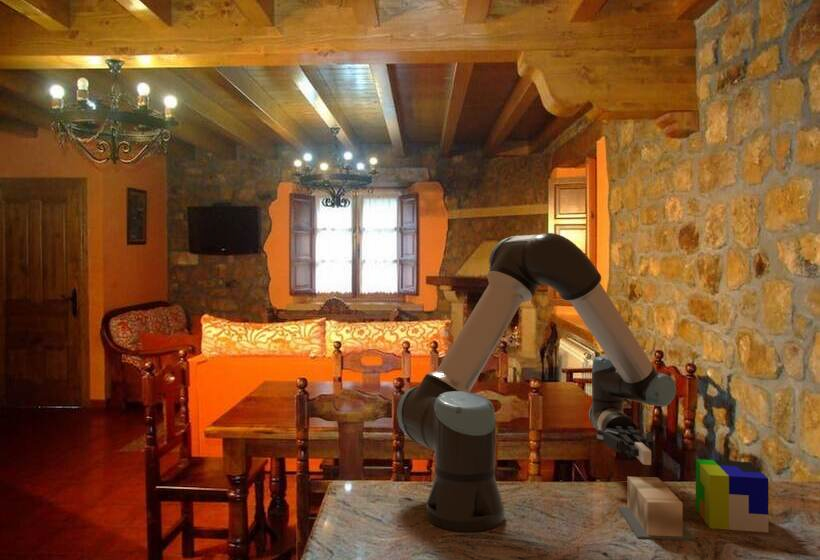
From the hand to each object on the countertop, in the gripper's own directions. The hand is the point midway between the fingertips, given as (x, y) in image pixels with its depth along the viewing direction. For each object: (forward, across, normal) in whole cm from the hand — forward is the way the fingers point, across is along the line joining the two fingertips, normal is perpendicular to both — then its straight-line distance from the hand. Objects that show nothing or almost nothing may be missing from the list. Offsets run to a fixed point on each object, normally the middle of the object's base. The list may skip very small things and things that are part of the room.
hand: (647, 457), depth 121 cm
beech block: (-2, 0, -8) cm, 8 cm away
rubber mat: (+5, 0, -11) cm, 12 cm away
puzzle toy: (+2, -15, -11) cm, 19 cm away
